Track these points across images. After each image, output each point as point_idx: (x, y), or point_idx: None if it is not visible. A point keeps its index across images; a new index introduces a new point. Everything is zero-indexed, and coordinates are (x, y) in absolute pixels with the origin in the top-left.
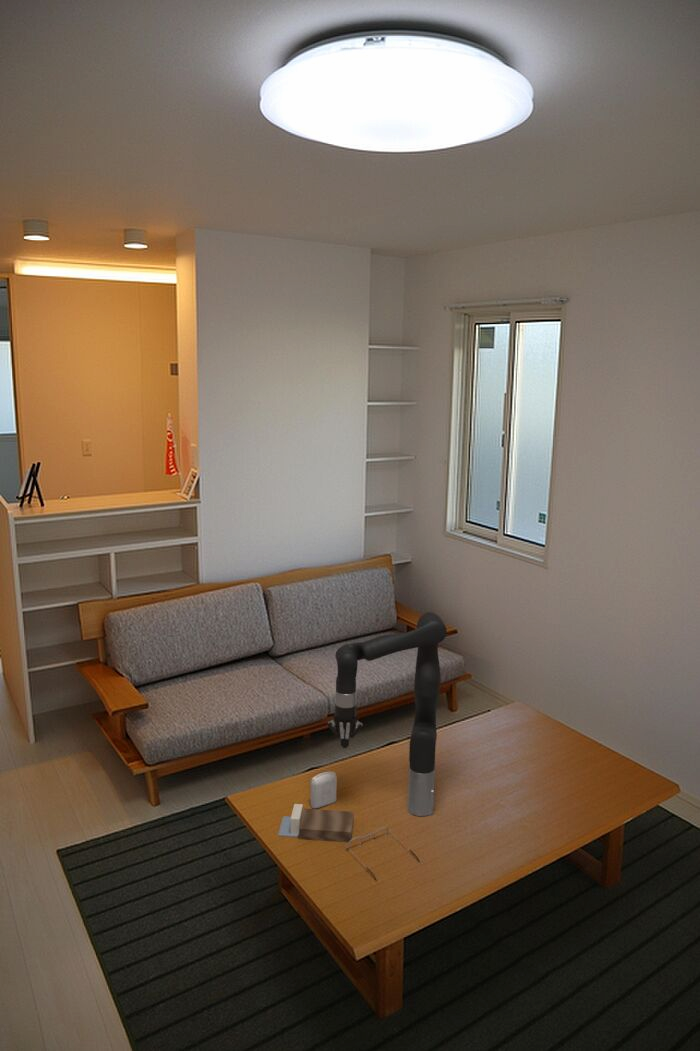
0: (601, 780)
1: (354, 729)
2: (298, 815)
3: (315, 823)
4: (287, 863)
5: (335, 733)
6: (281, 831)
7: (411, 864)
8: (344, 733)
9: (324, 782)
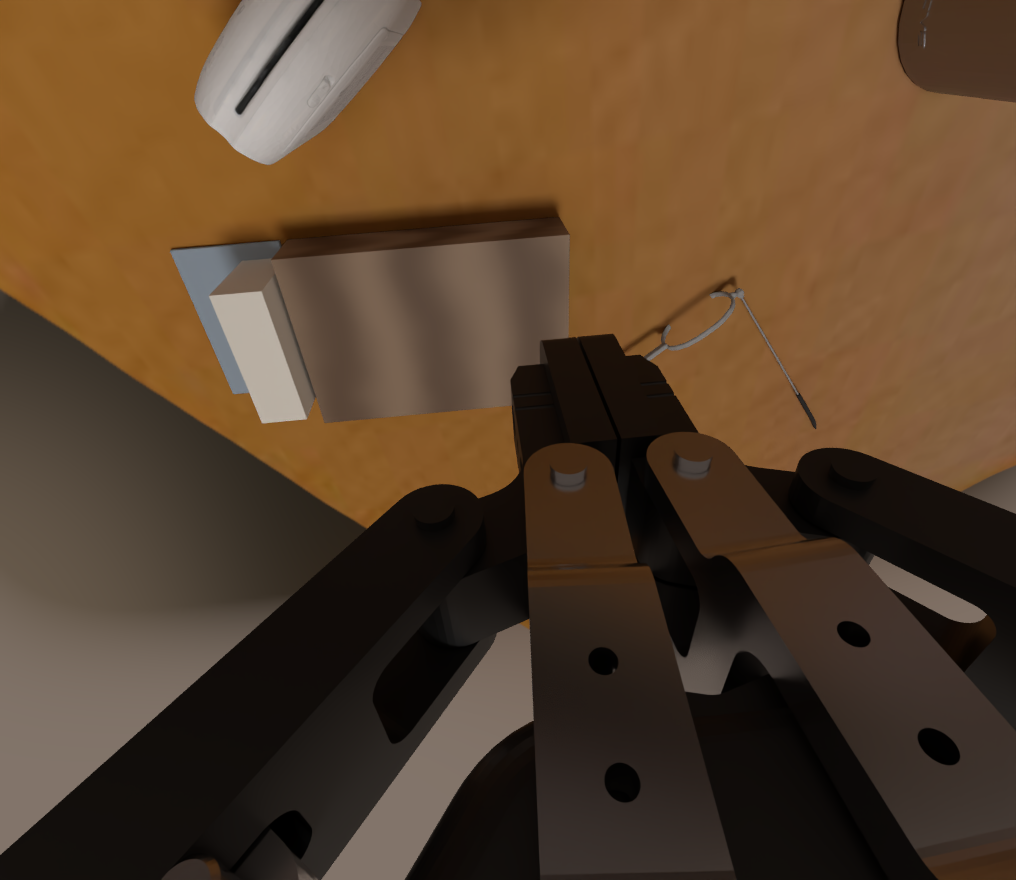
0: None
1: (984, 603)
2: (287, 391)
3: (386, 373)
4: (349, 511)
5: (410, 678)
6: (234, 368)
7: (781, 440)
8: (615, 483)
9: (326, 109)
